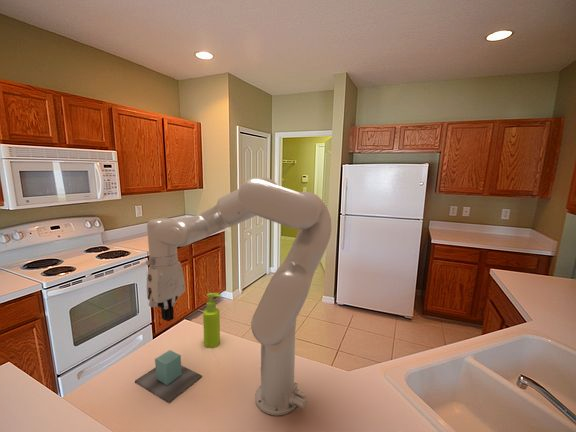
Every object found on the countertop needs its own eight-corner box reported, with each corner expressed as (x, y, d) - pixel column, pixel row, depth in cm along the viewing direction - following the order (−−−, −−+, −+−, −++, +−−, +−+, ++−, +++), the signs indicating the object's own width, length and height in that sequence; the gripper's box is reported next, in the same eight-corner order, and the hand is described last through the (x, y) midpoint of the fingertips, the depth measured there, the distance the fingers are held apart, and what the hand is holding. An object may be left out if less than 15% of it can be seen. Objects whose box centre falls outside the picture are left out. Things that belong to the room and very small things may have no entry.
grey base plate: (202, 377, 86) (201, 356, 85) (169, 403, 76) (168, 380, 75) (168, 360, 94) (168, 341, 93) (134, 382, 84) (133, 361, 83)
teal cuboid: (181, 374, 86) (180, 355, 85) (166, 385, 81) (165, 364, 80) (170, 368, 88) (169, 349, 87) (156, 378, 84) (155, 358, 83)
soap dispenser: (218, 349, 100) (217, 297, 98) (201, 347, 102) (199, 296, 99) (225, 340, 106) (224, 291, 104) (208, 338, 108) (207, 289, 105)
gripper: (148, 269, 72) (153, 334, 74) (192, 255, 85) (196, 311, 87) (131, 265, 76) (136, 327, 78) (176, 253, 88) (180, 307, 91)
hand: (168, 319), depth 82 cm, fingers closed
